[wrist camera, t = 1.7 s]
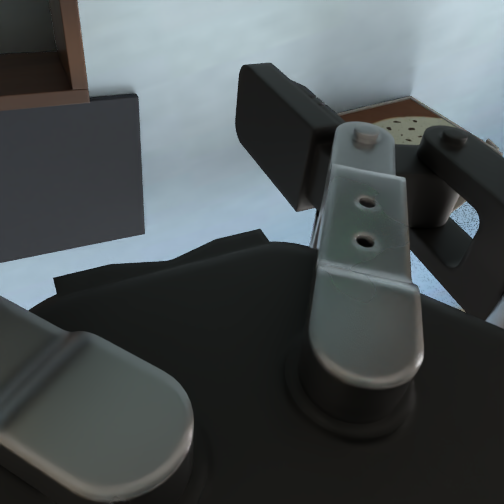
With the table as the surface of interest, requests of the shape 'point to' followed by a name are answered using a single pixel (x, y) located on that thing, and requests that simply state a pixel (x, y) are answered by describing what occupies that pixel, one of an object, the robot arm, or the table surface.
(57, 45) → the crate
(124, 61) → the table surface
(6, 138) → the mat
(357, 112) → the food container
